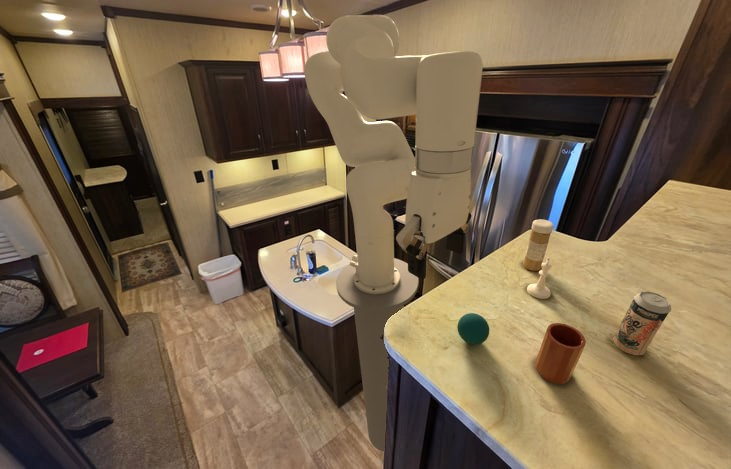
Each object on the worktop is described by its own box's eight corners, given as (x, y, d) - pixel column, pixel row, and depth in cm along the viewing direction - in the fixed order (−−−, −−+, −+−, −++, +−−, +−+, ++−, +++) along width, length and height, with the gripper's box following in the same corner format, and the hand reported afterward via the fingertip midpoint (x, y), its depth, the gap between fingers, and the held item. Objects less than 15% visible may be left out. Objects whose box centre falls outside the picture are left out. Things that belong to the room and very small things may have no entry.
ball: (451, 341, 59) (453, 320, 56) (463, 323, 63) (466, 302, 60) (480, 356, 55) (484, 334, 52) (491, 336, 59) (496, 315, 56)
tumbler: (531, 372, 52) (543, 337, 47) (539, 352, 55) (551, 318, 51) (566, 390, 49) (582, 354, 44) (572, 367, 52) (588, 332, 48)
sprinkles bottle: (529, 259, 81) (540, 217, 74) (545, 268, 77) (558, 223, 71) (518, 265, 79) (529, 221, 73) (533, 273, 76) (546, 228, 69)
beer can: (605, 340, 56) (629, 294, 51) (623, 333, 58) (648, 286, 52) (632, 360, 52) (661, 312, 47) (650, 352, 54) (681, 304, 48)
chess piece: (550, 288, 70) (560, 254, 66) (550, 301, 67) (562, 266, 62) (527, 283, 73) (536, 250, 68) (526, 295, 69) (536, 261, 64)
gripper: (457, 144, 46) (449, 236, 55) (377, 169, 37) (382, 275, 45) (502, 150, 41) (486, 250, 49) (422, 181, 32) (418, 298, 40)
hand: (436, 262), depth 47 cm, fingers open, 9 cm apart
